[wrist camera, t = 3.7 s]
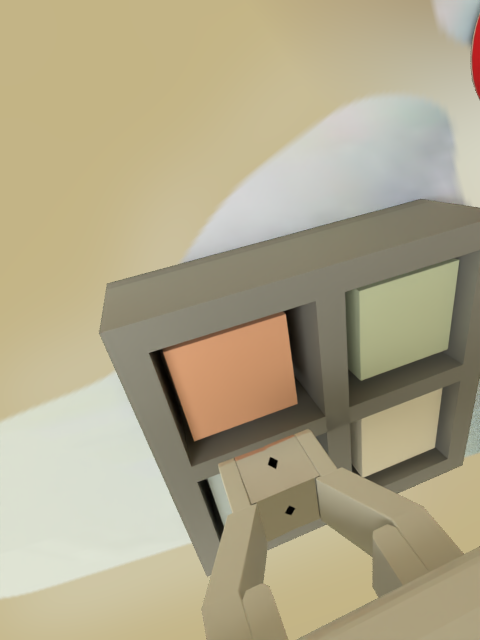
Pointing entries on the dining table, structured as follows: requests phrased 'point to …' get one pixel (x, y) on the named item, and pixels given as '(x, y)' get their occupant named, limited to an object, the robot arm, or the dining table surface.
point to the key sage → (400, 319)
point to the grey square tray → (298, 347)
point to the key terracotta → (233, 375)
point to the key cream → (395, 434)
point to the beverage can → (476, 57)
